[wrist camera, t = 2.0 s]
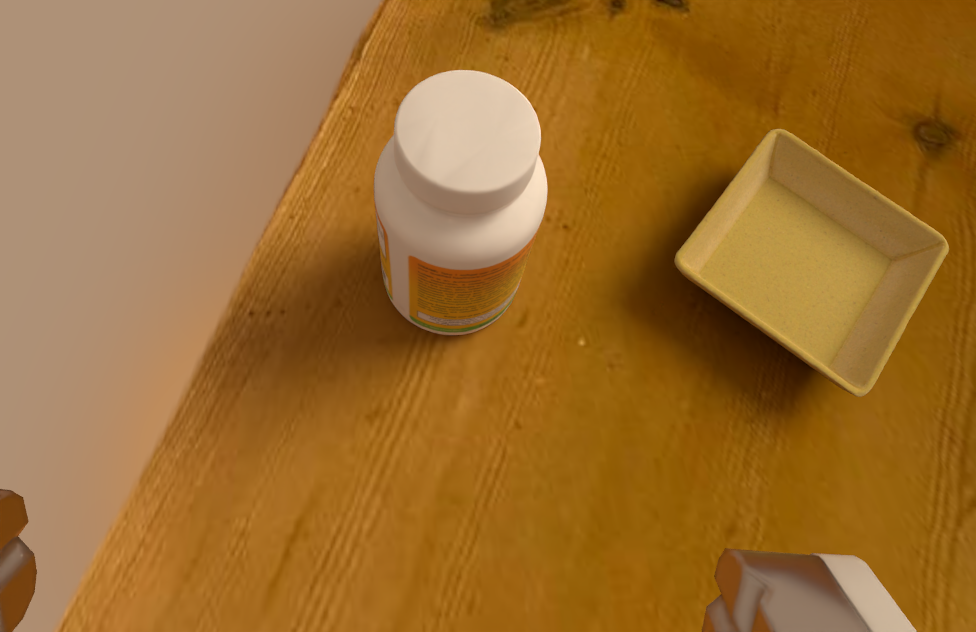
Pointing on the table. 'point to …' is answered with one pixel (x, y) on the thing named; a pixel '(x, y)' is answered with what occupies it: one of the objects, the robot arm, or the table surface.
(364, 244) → the table surface
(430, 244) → the supplement bottle
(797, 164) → the saucer
